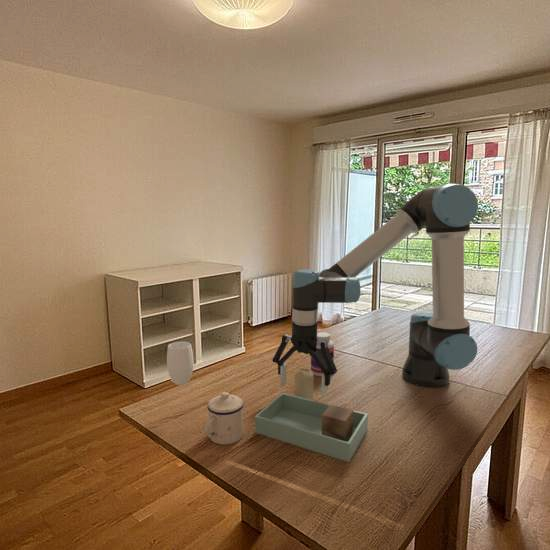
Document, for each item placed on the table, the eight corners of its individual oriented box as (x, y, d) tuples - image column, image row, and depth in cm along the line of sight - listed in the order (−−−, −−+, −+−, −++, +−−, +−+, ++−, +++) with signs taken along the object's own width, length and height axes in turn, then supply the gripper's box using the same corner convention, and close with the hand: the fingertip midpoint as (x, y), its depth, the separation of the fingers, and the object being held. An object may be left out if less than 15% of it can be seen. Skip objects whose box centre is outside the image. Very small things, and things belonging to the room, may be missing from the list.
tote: (367, 431, 101) (368, 413, 101) (349, 464, 88) (349, 444, 87) (282, 408, 113) (282, 392, 113) (255, 434, 100) (254, 416, 100)
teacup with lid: (224, 422, 106) (223, 382, 104) (250, 432, 101) (250, 390, 99) (192, 444, 96) (190, 400, 94) (220, 456, 91) (219, 410, 89)
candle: (301, 407, 114) (301, 375, 113) (291, 399, 119) (291, 368, 118) (316, 402, 117) (317, 371, 115) (306, 395, 122) (307, 365, 120)
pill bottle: (332, 378, 134) (333, 338, 132) (309, 376, 135) (310, 337, 133) (333, 369, 142) (334, 331, 139) (312, 367, 143) (312, 330, 141)
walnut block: (352, 435, 99) (353, 410, 97) (344, 448, 93) (345, 421, 92) (330, 429, 101) (330, 404, 100) (321, 441, 96) (321, 414, 95)
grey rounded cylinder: (182, 424, 105) (179, 351, 102) (163, 416, 109) (160, 346, 106) (200, 412, 111) (198, 343, 108) (182, 406, 115) (179, 339, 112)
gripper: (349, 325, 112) (346, 394, 115) (273, 313, 123) (273, 376, 127) (340, 332, 105) (337, 405, 108) (261, 319, 117) (261, 385, 120)
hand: (303, 389), depth 118 cm, fingers open, 13 cm apart
